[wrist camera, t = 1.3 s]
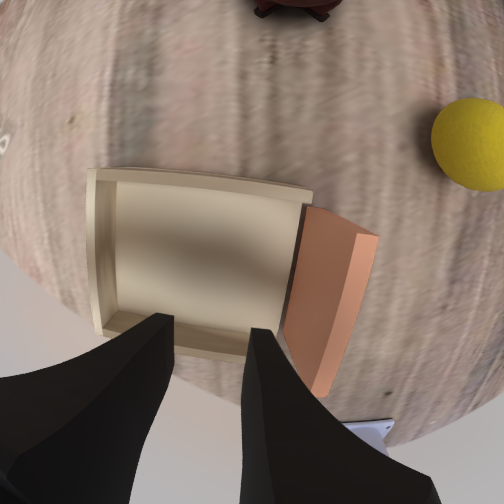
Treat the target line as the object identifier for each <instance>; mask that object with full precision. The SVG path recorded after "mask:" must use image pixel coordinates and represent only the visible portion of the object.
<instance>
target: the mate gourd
mask: <svg viewBox="0 0 504 504" xmlns="http://www.w3.org/2000/svg"><path fill="white" fill-rule="evenodd" d="M254 1H255V3H256V4H257V6H258V7H257V8H256V9H254V13H255V14H256V15H257V16H258V17H260V18H264V17H266V16H267V15H269V14H270V13H272V12H273V11H275V10H276V9H278V8H279V7H281V6H282V5H285V6H294V7H301V8H302V9H304V10H305V11H306V12H308V13H309V14H310V15H312V16H313V17H314V18H315V19H317V20H318V21H320V22H324V21H325V20H327V18H329V16H330V15H329V14H328V13H327V12H328V11H330V10H331V9H333V8H335V7H336V6H337V5H339V4H340V3H341V1H342V0H254Z"/></svg>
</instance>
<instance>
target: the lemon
mask: <svg viewBox="0 0 504 504" xmlns="http://www.w3.org/2000/svg"><path fill="white" fill-rule="evenodd" d="M431 142H432V149H433V153H434V156H435V158H436V160H437V163H438V164H439V166H440V167H441V169H442V170H443V171H444V173H445V174H446V175H447V176H449V177H450V178H451V179H452V180H453V181H454V182H456V183H458V184H460V185H462V186H464V187H466V188H468V189H471V190H477V191H485V192H490V191H497V190H500V189H504V107H502V106H501V105H499V104H498V103H495V102H493V101H490V100H485V99H480V98H466V99H461V100H457V101H454V102H452V103H450V104H449V105H448V106H446V107H445V108H444V109H442V110H441V111H440V113H439V114H438V116H437V117H436V119H435V121H434V124H433V127H432V133H431Z"/></svg>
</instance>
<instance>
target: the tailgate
mask: <svg viewBox="0 0 504 504" xmlns="http://www.w3.org/2000/svg"><path fill="white" fill-rule="evenodd" d="M378 240H379V236H378V235H376V234H374V233H372V232H370V231H368V230H366V229H364V228H362V227H360V226H358V225H356V224H354V223H352V222H350V221H348V220H346V219H344V218H342V217H340V216H338V215H336V214H334V213H332V212H330V211H328V210H326V209H323V208H316V207H310V206H307V210H306V216H305V222H304V227H303V233H302V238H301V244H300V249H299V254H298V260H297V265H296V270H295V275H294V280H293V285H292V290H291V294H290V299H289V304H288V309H287V313H286V318H285V322H284V327H283V331H282V332H283V334H284V337H285V340H286V342H287V345H288V347H289V350H290V353H291V355H292V358H293V361H294V363H295V366H296V368H297V371H298V374H299V376H300V378H301V380H302V381H303V382H304V384H305V385H306V386H307V388H308V389H309V390H310V391H311V393H312V394H313V395H314V396H315V397H316V398H319V397H327V395H328V393H329V391H330V388H331V386H332V384H333V381H334V379H335V376H336V374H337V371H338V369H339V366H340V364H341V361H342V358H343V356H344V353H345V350H346V348H347V345H348V342H349V339H350V336H351V334H352V331H353V328H354V325H355V322H356V319H357V316H358V313H359V309H360V306H361V303H362V300H363V296H364V293H365V290H366V286H367V283H368V279H369V276H370V272H371V268H372V264H373V260H374V257H375V253H376V248H377V244H378Z"/></svg>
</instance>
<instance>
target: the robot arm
mask: <svg viewBox="0 0 504 504" xmlns="http://www.w3.org/2000/svg"><path fill="white" fill-rule="evenodd" d="M173 367H174V315H169V314H163V313H158V312H156V313H154V314H152V315H151V316H149V317H148V318H146V319H144V320H143V321H141V322H140V323H138V324H136V325H135V326H133V327H132V328H130V329H128V330H127V331H125V332H123V333H122V334H120V335H118V336H117V337H115V338H113V339H111V340H110V341H108V342H106V343H104V344H102V345H100V346H98V347H96V348H94V349H92V350H91V351H89V352H86V353H84V354H82V355H80V356H78V357H75V358H73V359H70V360H68V361H65V362H62V363H60V364H57V365H54V366H51V367H47V368H43V369H40V370H37V371H33V372H29V373H25V374H20V375H15V376H9V377H2V378H0V504H129V500H130V495H131V491H132V486H133V482H134V478H135V474H136V470H137V466H138V462H139V458H140V454H141V451H142V448H143V445H144V442H145V440H146V437H147V435H148V432H149V430H150V427H151V425H152V423H153V421H154V418H155V416H156V414H157V411H158V409H159V407H160V404H161V402H162V400H163V398H164V395H165V393H166V390H167V388H168V385H169V381H170V378H171V374H172V371H173ZM241 422H242V452H243V460H242V462H243V463H242V466H243V467H242V479H241V491H240V492H241V493H240V503H239V504H442V503H441V501H440V499H439V496H438V493H437V491H436V488H435V486H434V484H433V482H432V480H431V478H430V477H429V476H427V475H424V474H422V473H420V472H418V471H416V470H413V469H411V468H409V467H407V466H405V465H403V464H401V463H399V462H397V461H395V460H393V459H391V458H389V455H388V453H387V450H386V447H385V445H384V442H383V439H384V437H385V436H386V435H387V433H388V432H389V430H390V429H391V428H392V426H393V425H394V423H395V422H394V420H393V419H389V420H380V421H370V422H356V423H341V422H339V421H338V420H337V419H336V418H335V417H334V416H333V415H332V414H331V413H330V412H329V411H328V410H327V409H326V408H325V407H324V406H323V405H322V404H321V403H320V402H319V401H318V400H317V398H316V397H315V396H314V395H313V394H312V393H311V391H310V390H309V389H308V388H307V386H306V385H305V384H304V382H303V381H302V380H301V378H300V377H299V376H298V374H297V373H296V371H295V370H294V368H293V367H292V365H291V364H290V362H289V361H288V359H287V358H286V356H285V354H284V353H283V351H282V349H281V347H280V346H279V344H278V342H277V340H276V338H275V336H274V334H273V332H272V331H271V330H270V329H262V328H253V327H251V331H250V337H249V343H248V349H247V355H246V361H245V367H244V373H243V383H242V393H241Z"/></svg>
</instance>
